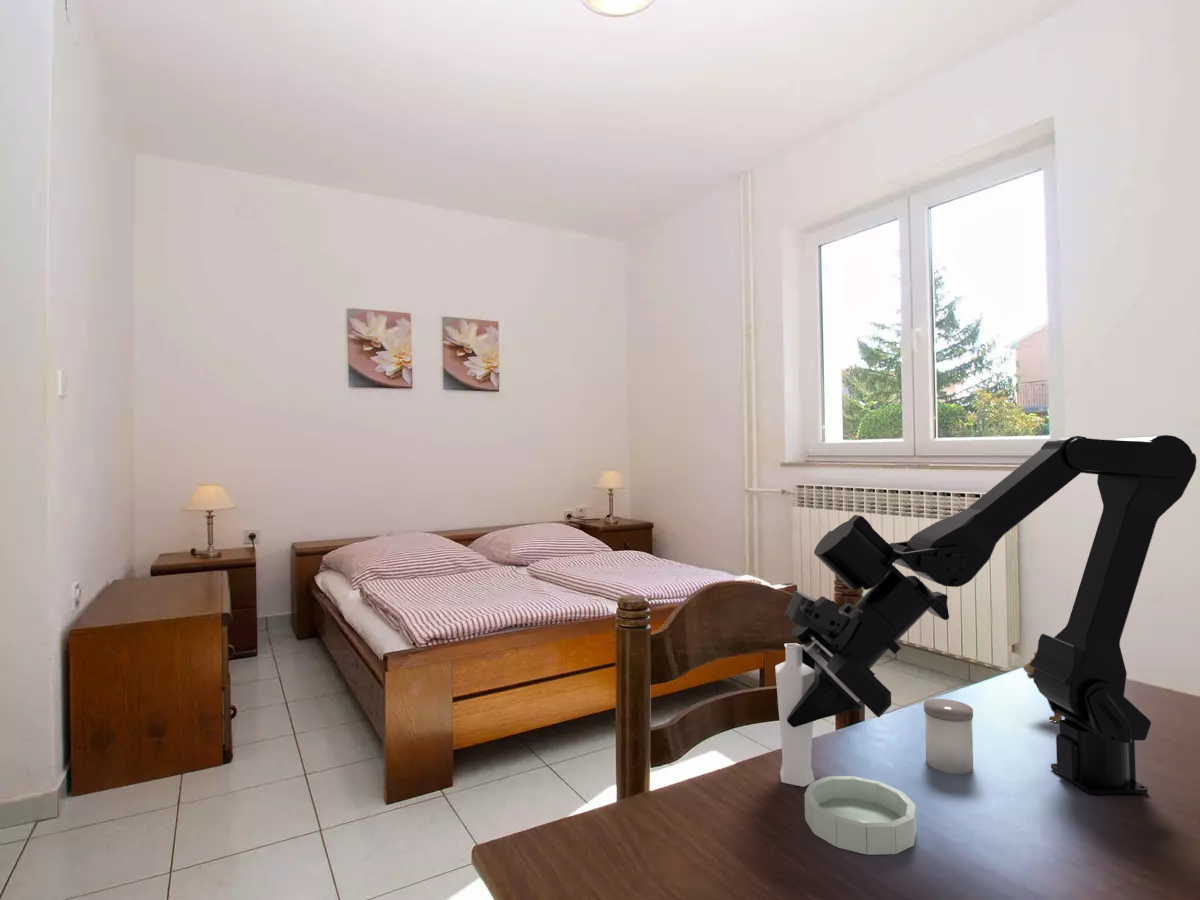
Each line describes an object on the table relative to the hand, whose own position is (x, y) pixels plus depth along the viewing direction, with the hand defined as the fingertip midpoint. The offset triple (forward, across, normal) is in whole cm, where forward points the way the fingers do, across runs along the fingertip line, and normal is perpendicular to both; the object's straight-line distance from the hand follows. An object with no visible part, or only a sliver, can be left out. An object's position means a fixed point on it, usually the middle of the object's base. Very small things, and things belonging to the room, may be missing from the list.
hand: (784, 715), depth 77 cm
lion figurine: (-24, -15, +35) cm, 45 cm away
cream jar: (-9, -4, +19) cm, 22 cm away
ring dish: (+2, +10, +8) cm, 13 cm away
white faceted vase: (+4, 0, +6) cm, 7 cm away
